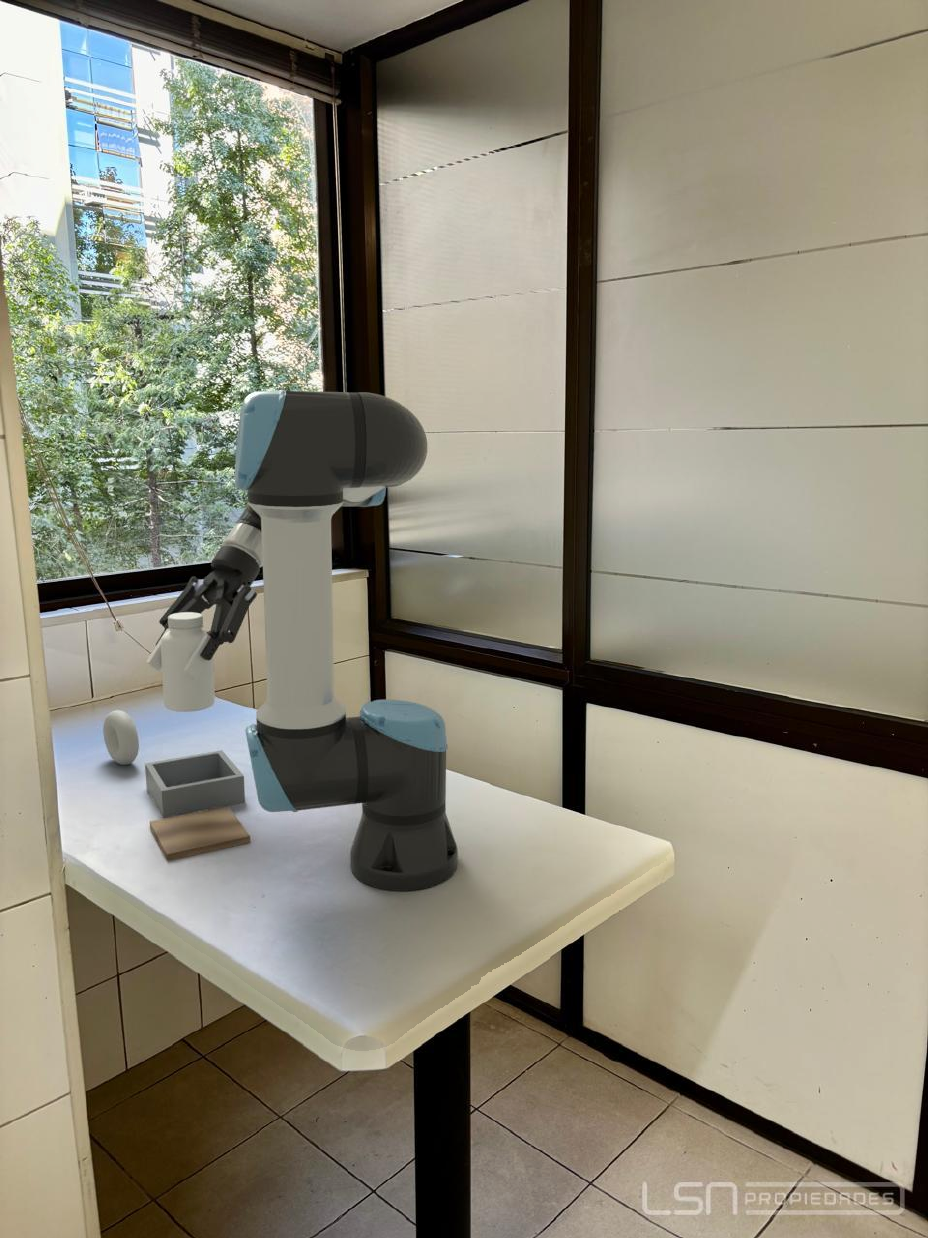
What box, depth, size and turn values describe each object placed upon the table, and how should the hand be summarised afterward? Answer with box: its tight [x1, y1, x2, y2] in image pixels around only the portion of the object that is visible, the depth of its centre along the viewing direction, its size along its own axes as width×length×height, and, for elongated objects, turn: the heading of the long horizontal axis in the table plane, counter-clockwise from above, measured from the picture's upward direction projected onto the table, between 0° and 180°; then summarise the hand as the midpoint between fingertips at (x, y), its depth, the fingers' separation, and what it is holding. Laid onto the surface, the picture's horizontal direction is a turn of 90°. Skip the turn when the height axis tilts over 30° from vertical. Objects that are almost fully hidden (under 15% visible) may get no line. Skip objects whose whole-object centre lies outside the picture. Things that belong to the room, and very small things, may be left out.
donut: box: [102, 709, 140, 766], centre depth 163 cm, size 10×4×10 cm, turn 43°
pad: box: [149, 805, 251, 862], centre depth 136 cm, size 12×12×1 cm
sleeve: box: [144, 750, 246, 819], centre depth 150 cm, size 13×13×4 cm
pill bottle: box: [161, 612, 216, 713], centre depth 146 cm, size 8×8×15 cm
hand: (170, 670), depth 143 cm, fingers closed on pill bottle, 8 cm apart
